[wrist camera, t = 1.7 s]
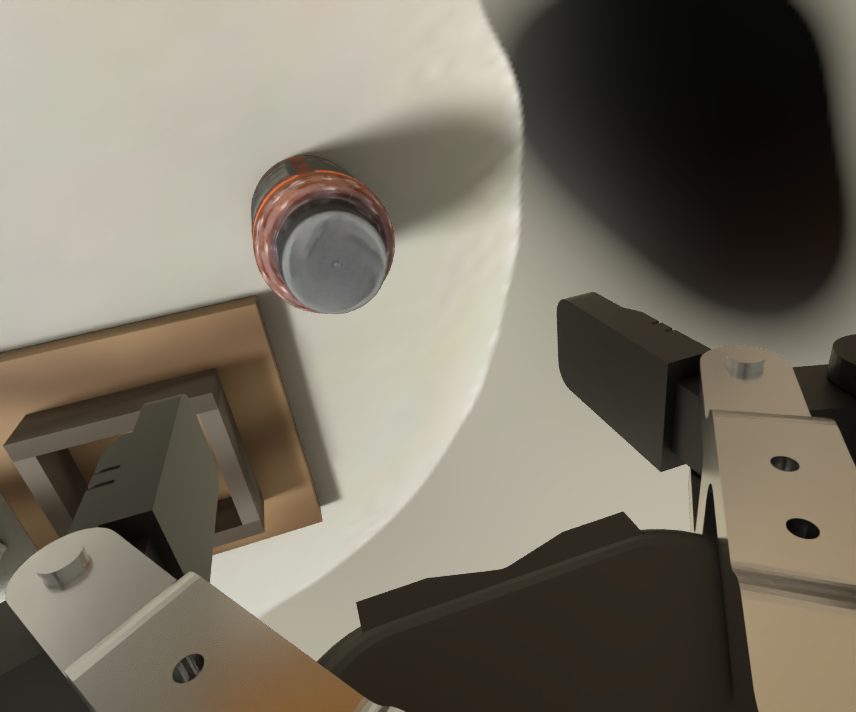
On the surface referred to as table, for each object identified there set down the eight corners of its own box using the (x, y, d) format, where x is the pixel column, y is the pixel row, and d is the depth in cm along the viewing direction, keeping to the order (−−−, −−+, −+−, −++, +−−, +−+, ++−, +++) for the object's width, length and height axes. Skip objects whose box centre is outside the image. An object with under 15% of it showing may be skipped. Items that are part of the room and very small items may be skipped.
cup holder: (-58, 366, 28) (-109, 409, 24) (255, 295, 31) (255, 323, 27) (76, 581, 35) (54, 640, 31) (320, 507, 38) (327, 553, 34)
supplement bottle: (243, 252, 30) (237, 326, 20) (260, 140, 28) (263, 160, 18) (349, 273, 32) (391, 348, 22) (372, 170, 30) (429, 203, 20)
